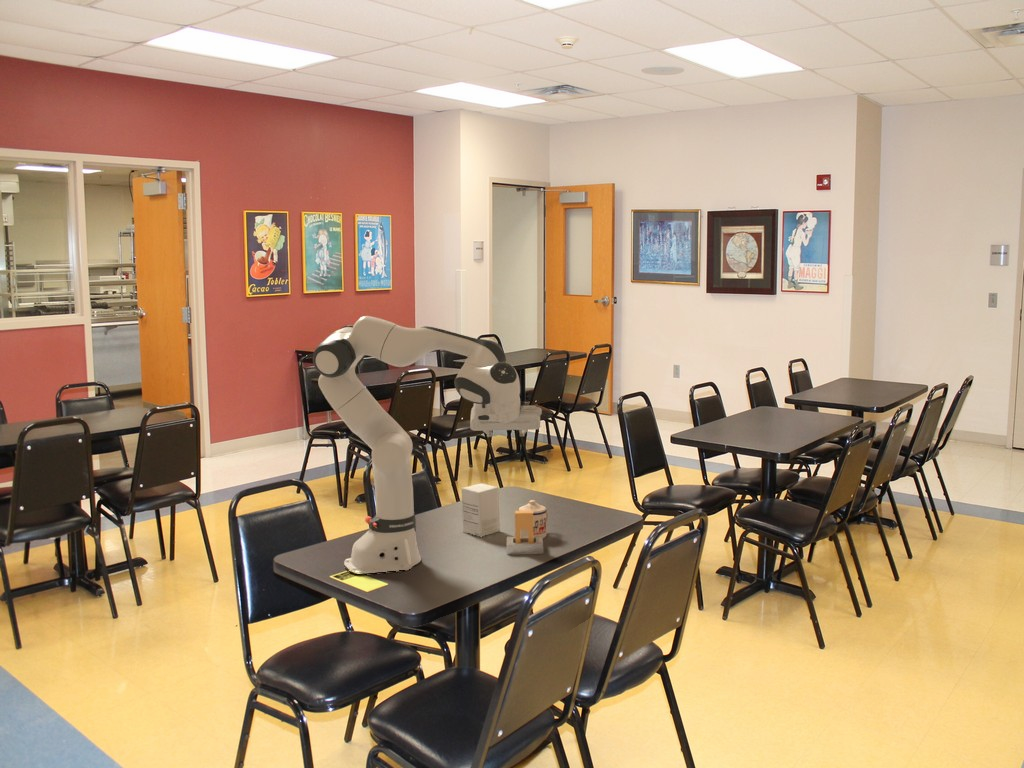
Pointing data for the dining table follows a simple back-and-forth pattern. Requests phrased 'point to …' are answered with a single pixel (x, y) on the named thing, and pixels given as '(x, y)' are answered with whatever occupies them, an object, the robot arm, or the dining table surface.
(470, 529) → the supplement box
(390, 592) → the dining table surface
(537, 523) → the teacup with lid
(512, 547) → the rectangular frame block
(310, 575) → the dining table surface
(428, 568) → the dining table surface
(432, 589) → the dining table surface
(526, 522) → the orange notched arch block
